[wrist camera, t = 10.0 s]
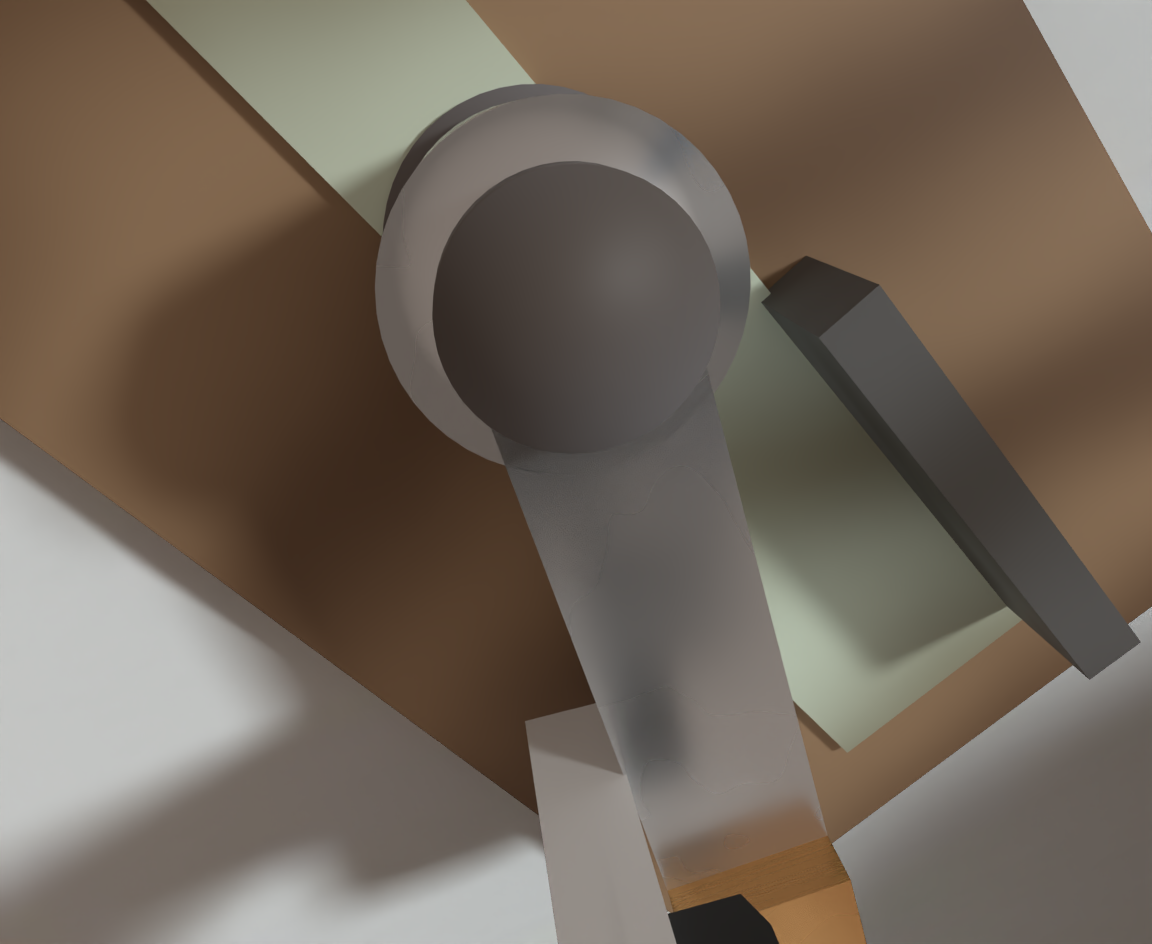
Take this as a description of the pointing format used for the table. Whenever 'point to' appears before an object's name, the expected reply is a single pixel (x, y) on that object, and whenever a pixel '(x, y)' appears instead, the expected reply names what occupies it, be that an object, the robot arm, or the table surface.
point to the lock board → (431, 536)
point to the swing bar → (643, 538)
